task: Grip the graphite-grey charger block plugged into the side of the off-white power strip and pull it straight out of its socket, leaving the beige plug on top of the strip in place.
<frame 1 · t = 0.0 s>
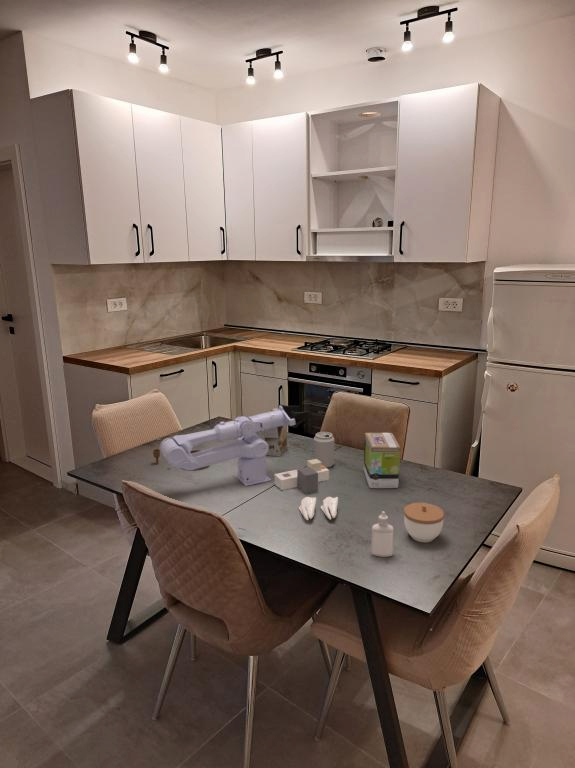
hand: (304, 411, 195), 22 cm above the table, tool horizontal, fingers open, 7 cm apart
coffee box: (276, 452, 217), on the table
eye dropper bottle: (382, 554, 145), on the table
salt and pepper shakers: (317, 516, 166), on the table
lidded jar: (422, 537, 153), on the table
can: (323, 465, 204), on the table
beige plug: (314, 469, 191), resting on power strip
place setting: (187, 464, 208), on the table
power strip: (301, 481, 189), on the table
charger: (305, 478, 184), point 3 cm above the table, slide at 0.0 cm
tea box: (380, 480, 191), on the table
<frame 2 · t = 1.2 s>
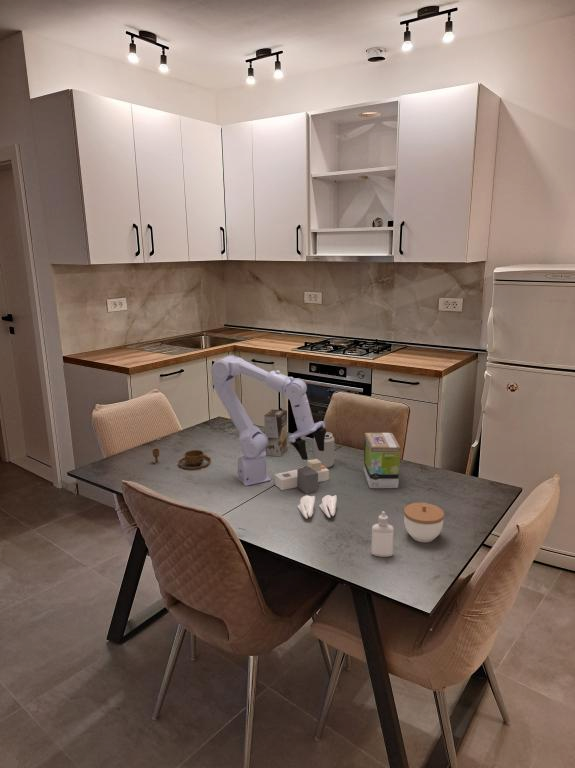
hand: (313, 454, 183), 11 cm above the table, tool tilted 15°, fingers open, 7 cm apart
salt and pepper shakers: (316, 515, 167), on the table
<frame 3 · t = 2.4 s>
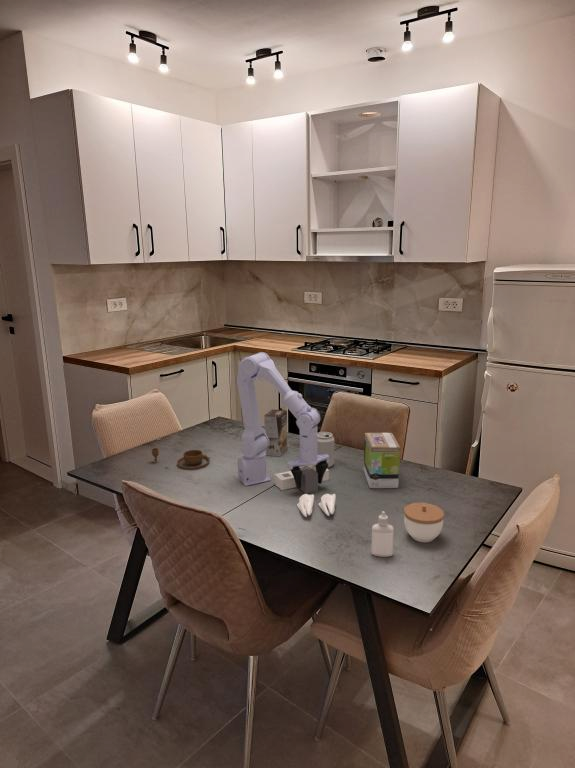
hand: (308, 485, 183), 2 cm above the table, tool pointing down, fingers open, 7 cm apart
salt and pepper shakers: (315, 513, 168), on the table
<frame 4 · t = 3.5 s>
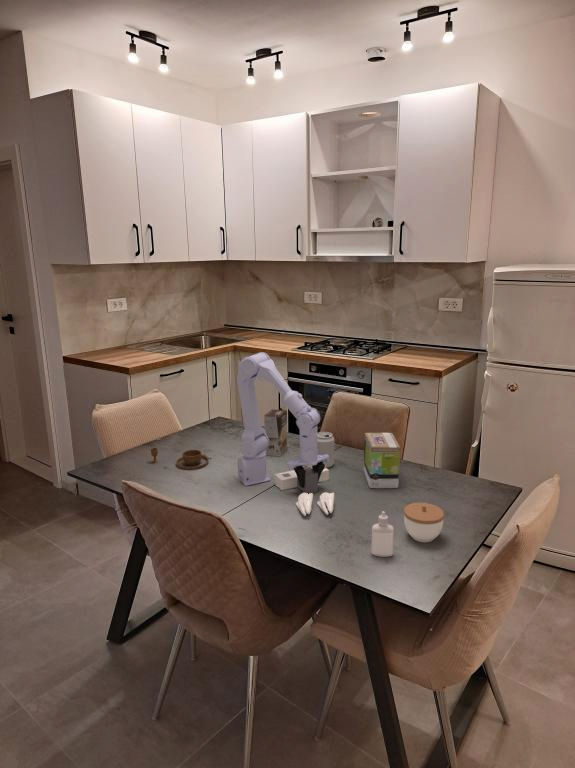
hand: (308, 485, 183), 2 cm above the table, tool pointing down, fingers closed on charger, 4 cm apart
charger: (305, 478, 184), point 3 cm above the table, slide at 0.0 cm, touching gripper
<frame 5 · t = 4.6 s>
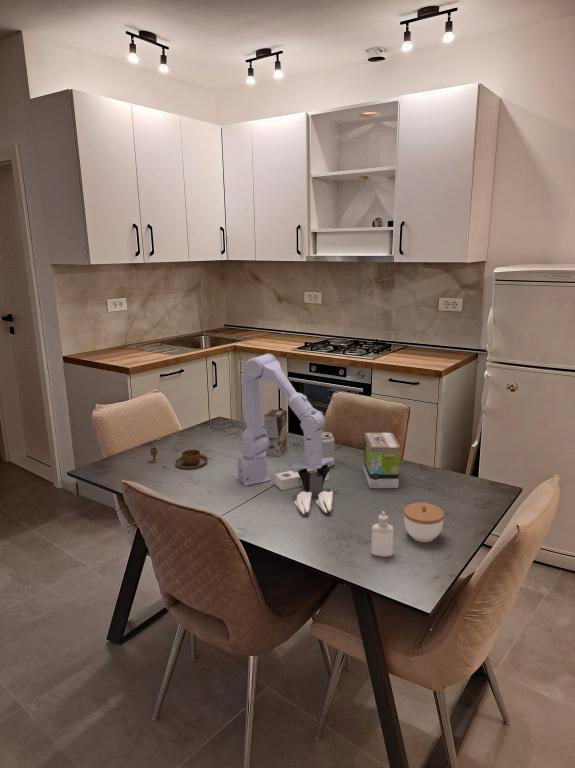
hand: (313, 488, 180), 2 cm above the table, tool pointing down, fingers closed on charger, 4 cm apart
salt and pepper shakers: (312, 510, 170), on the table
charger: (309, 481, 182), point 3 cm above the table, slide at 3.0 cm, touching gripper
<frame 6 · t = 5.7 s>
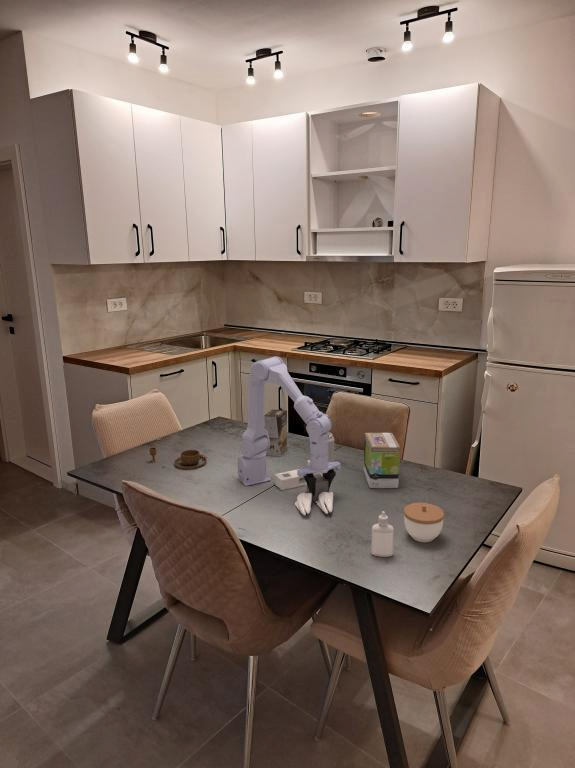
hand: (319, 493, 177), 2 cm above the table, tool pointing down, fingers closed on charger, 4 cm apart
charger: (315, 486, 178), point 3 cm above the table, slide at 6.7 cm, touching gripper
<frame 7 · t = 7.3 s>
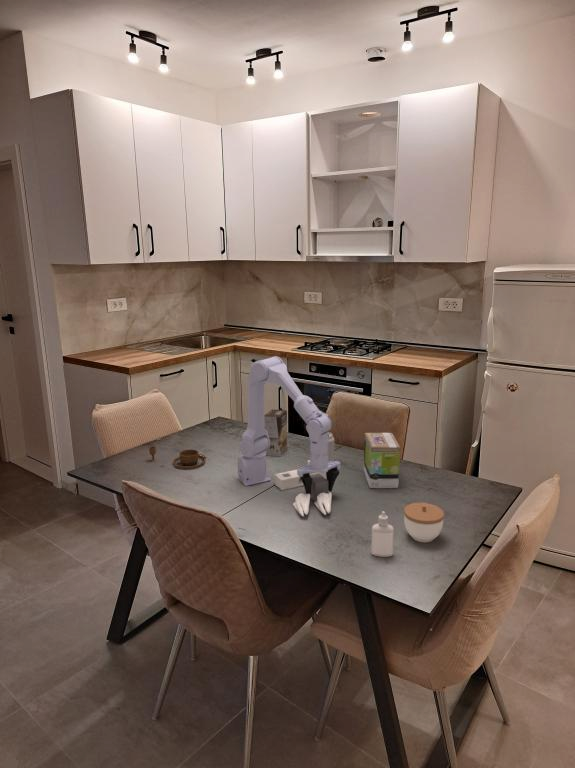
hand: (319, 492, 176), 2 cm above the table, tool pointing down, fingers open, 7 cm apart
charger: (315, 486, 178), point 3 cm above the table, slide at 6.7 cm
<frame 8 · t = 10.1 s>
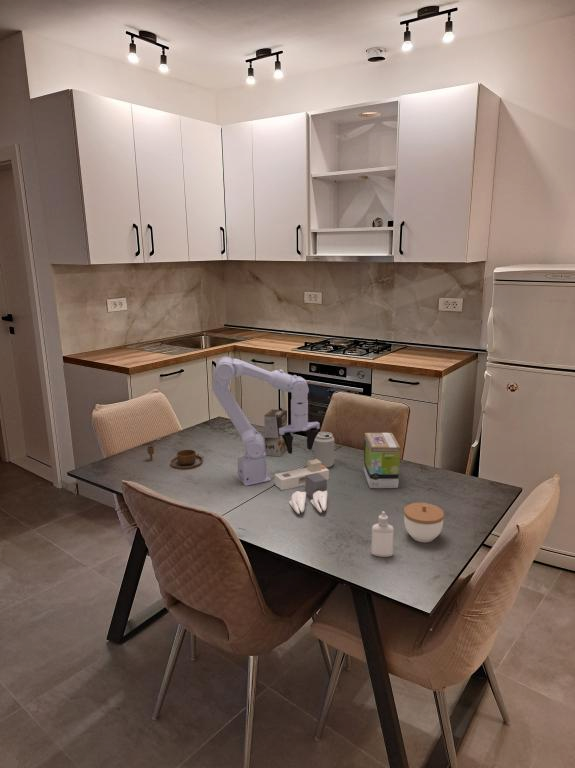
hand: (299, 450, 190), 10 cm above the table, tool pointing down, fingers open, 7 cm apart
salt and pepper shakers: (307, 510, 170), on the table
charger: (313, 485, 179), point 3 cm above the table, slide at 5.8 cm
at the end: charger slide at 5.8 cm; the gripper is holding nothing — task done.
